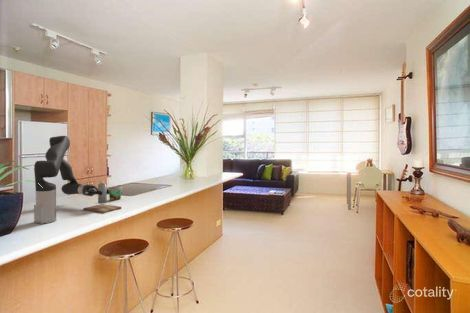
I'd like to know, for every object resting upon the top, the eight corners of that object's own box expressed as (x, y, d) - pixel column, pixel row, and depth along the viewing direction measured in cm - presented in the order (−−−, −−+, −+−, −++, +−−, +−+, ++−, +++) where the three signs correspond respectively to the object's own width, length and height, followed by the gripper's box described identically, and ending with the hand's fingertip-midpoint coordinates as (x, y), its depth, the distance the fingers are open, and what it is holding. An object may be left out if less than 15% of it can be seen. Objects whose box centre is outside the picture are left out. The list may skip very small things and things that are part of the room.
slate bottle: (101, 203, 177) (101, 182, 176) (96, 203, 179) (96, 182, 178) (108, 202, 181) (108, 181, 181) (102, 201, 183) (102, 181, 183)
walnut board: (103, 213, 170) (103, 211, 170) (83, 210, 177) (83, 208, 177) (121, 208, 183) (121, 206, 183) (101, 205, 190) (101, 203, 190)
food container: (115, 201, 205) (115, 187, 204) (108, 200, 206) (108, 187, 205) (125, 198, 217) (125, 185, 216) (118, 197, 218) (118, 185, 217)
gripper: (77, 185, 179) (95, 188, 172) (96, 182, 192) (114, 185, 185) (77, 197, 179) (95, 200, 172) (96, 193, 192) (114, 196, 185)
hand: (105, 192), depth 179 cm, fingers closed on slate bottle, 5 cm apart
